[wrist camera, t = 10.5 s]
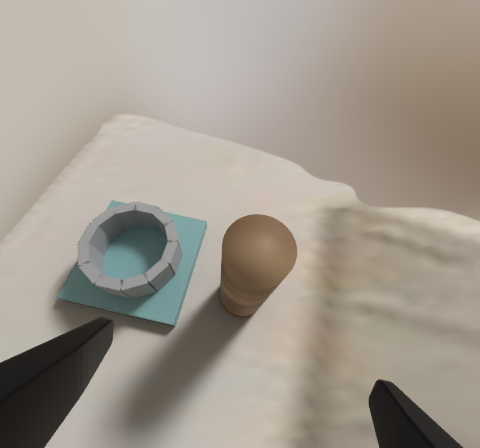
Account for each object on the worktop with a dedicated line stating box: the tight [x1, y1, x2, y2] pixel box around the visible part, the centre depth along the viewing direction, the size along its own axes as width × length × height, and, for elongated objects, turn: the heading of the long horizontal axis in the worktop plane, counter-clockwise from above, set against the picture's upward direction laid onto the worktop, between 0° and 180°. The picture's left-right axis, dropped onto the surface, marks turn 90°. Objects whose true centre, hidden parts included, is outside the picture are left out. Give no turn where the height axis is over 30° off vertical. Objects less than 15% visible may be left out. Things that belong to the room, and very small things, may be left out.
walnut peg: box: [220, 214, 297, 317], centre depth 18 cm, size 4×4×11 cm
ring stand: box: [57, 200, 207, 326], centre depth 22 cm, size 10×10×4 cm
